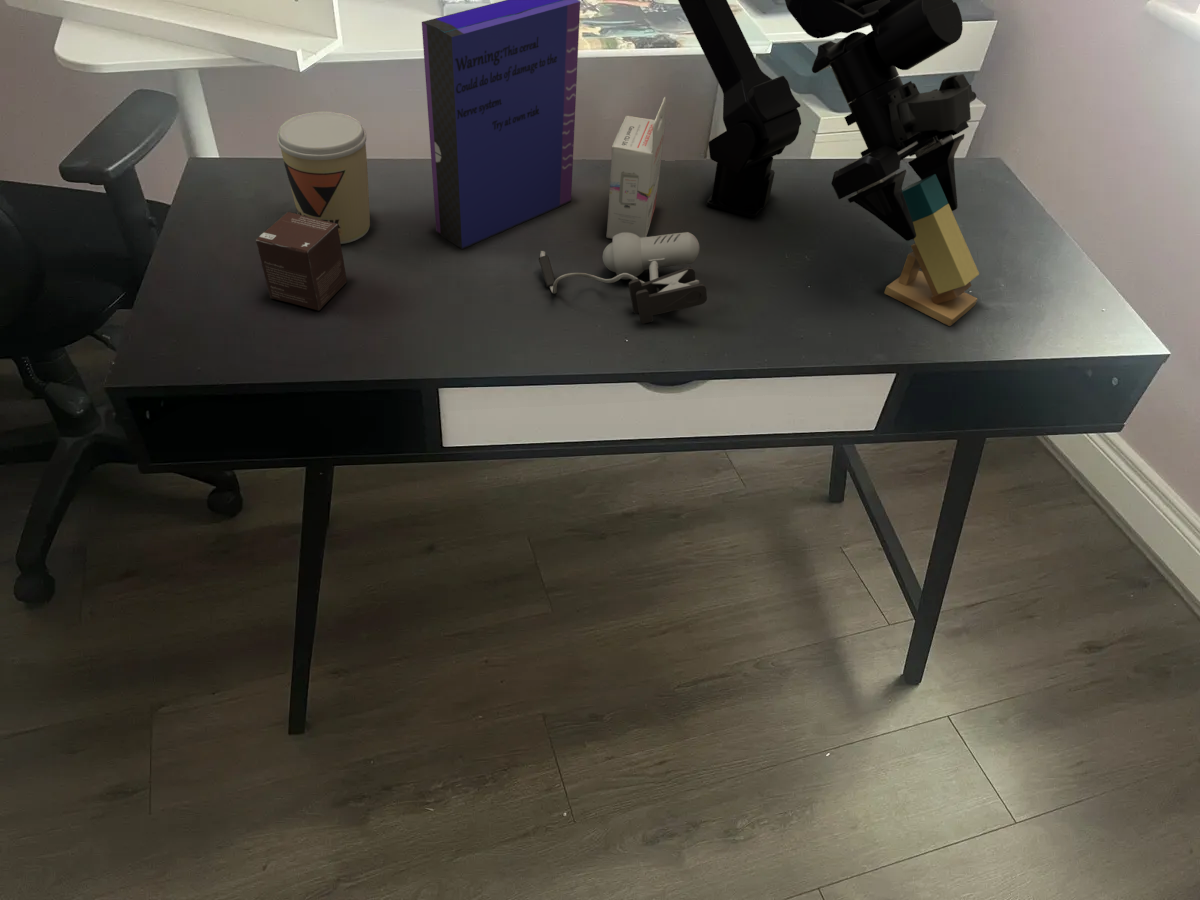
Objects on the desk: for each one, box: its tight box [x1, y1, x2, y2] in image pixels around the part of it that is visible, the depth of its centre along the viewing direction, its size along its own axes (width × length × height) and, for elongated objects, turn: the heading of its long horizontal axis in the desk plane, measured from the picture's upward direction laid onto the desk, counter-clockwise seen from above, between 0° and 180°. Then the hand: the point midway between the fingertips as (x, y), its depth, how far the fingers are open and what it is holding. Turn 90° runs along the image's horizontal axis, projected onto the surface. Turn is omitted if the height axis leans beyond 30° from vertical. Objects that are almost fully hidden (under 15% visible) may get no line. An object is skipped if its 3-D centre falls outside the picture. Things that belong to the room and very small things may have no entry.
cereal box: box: [421, 0, 581, 250], centre depth 102 cm, size 17×5×24 cm, turn 135°
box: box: [255, 211, 348, 311], centre depth 95 cm, size 6×6×7 cm
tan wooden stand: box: [884, 242, 978, 327], centre depth 101 cm, size 8×6×6 cm
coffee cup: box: [276, 111, 371, 245], centre depth 102 cm, size 9×9×12 cm
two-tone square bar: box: [902, 174, 980, 294], centre depth 99 cm, size 11×3×11 cm, turn 46°
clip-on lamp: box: [538, 231, 708, 325], centre depth 99 cm, size 12×6×18 cm
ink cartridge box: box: [605, 96, 667, 240], centre depth 106 cm, size 9×5×15 cm, turn 168°
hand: (933, 224), depth 99 cm, fingers open, 9 cm apart
